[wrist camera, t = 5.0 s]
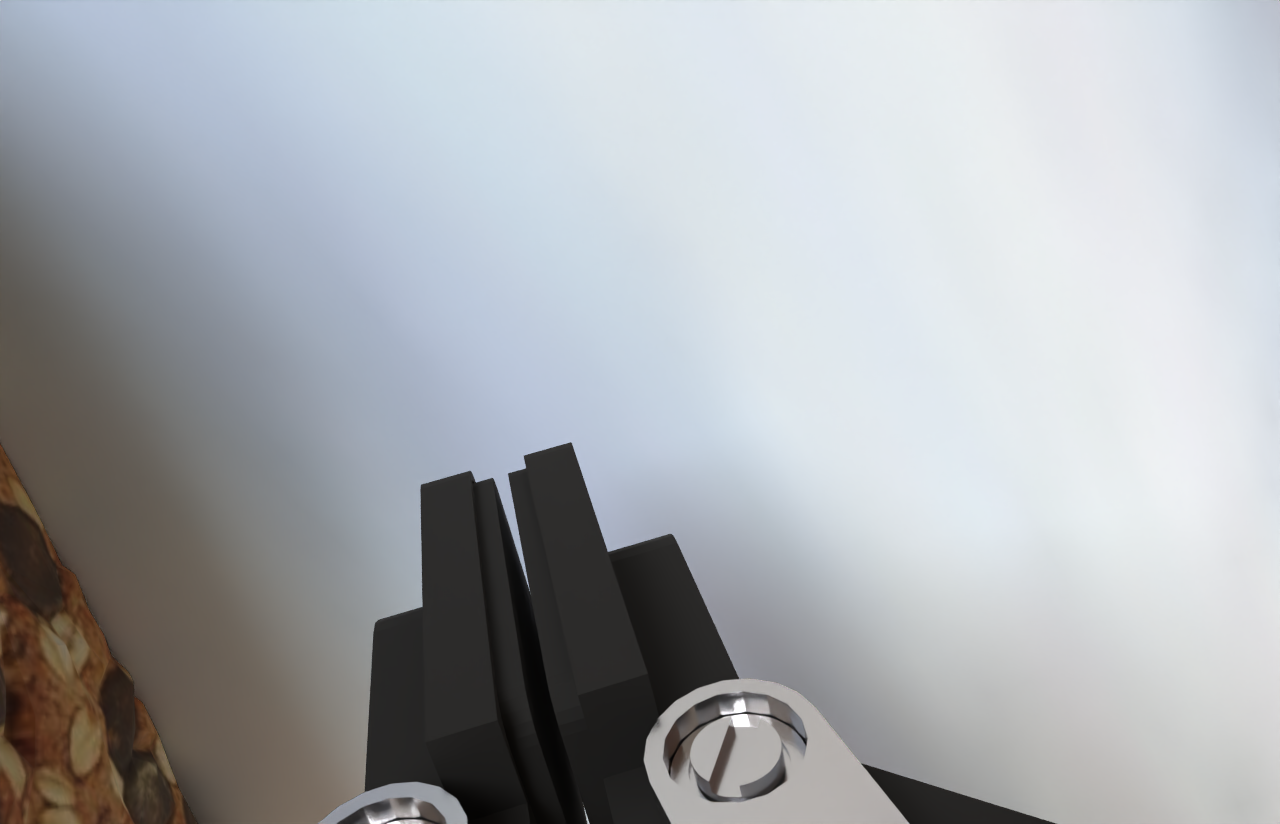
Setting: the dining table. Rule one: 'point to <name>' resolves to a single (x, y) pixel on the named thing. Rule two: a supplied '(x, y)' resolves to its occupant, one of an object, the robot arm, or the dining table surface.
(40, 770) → the bread
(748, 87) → the dining table surface
